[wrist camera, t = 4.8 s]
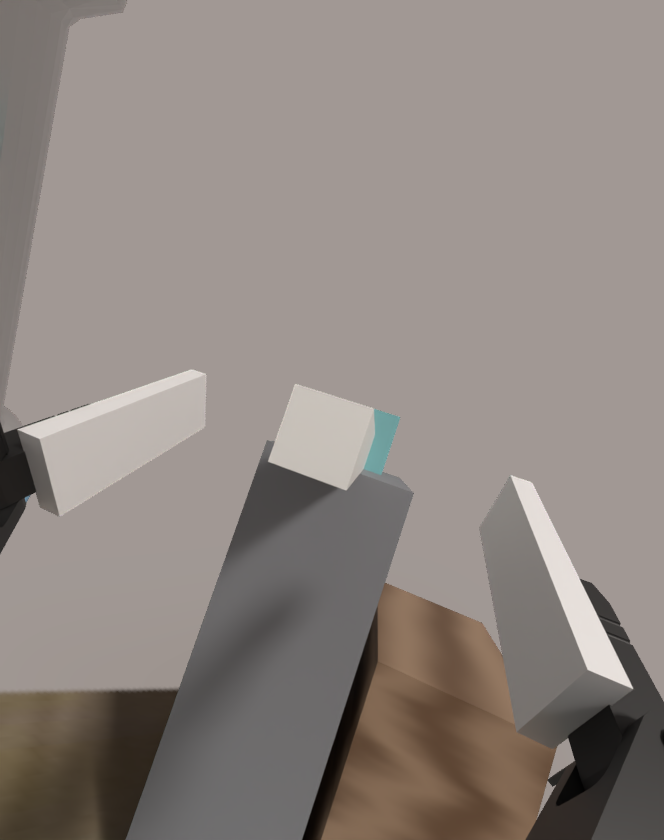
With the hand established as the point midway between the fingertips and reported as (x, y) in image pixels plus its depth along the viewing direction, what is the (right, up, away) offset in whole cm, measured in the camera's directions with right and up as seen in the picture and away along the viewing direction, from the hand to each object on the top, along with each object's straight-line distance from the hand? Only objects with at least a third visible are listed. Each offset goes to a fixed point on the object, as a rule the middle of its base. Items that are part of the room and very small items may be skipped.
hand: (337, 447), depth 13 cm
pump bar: (0, -2, +8) cm, 8 cm away
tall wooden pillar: (+2, -34, +9) cm, 35 cm away
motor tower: (-9, -31, +11) cm, 34 cm away
